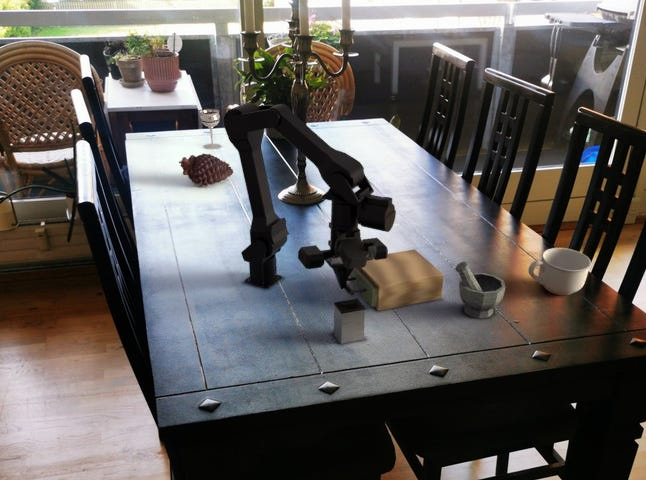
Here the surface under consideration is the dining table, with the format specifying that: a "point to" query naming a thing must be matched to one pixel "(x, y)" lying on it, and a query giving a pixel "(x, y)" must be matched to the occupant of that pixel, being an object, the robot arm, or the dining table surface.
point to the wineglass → (210, 122)
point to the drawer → (362, 286)
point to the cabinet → (404, 279)
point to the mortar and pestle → (479, 291)
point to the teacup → (561, 270)
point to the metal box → (349, 320)
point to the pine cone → (205, 169)
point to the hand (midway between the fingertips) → (341, 288)
